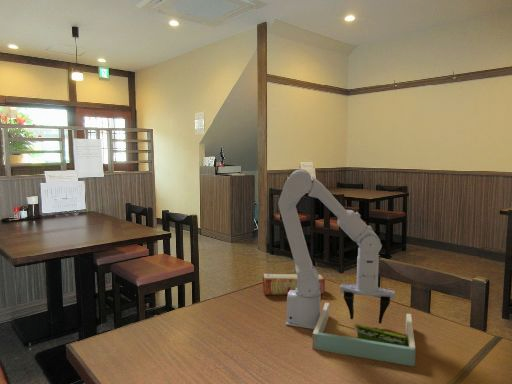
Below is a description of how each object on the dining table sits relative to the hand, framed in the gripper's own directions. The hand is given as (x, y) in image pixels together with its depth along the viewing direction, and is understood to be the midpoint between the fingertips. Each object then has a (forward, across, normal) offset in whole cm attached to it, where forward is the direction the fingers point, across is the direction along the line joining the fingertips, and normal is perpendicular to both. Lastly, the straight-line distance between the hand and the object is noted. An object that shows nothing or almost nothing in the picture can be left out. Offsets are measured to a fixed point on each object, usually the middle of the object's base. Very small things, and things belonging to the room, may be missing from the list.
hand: (365, 319), depth 106 cm
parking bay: (+2, 0, +8) cm, 8 cm away
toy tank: (+2, -2, +10) cm, 10 cm away
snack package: (+2, +26, -16) cm, 30 cm away
